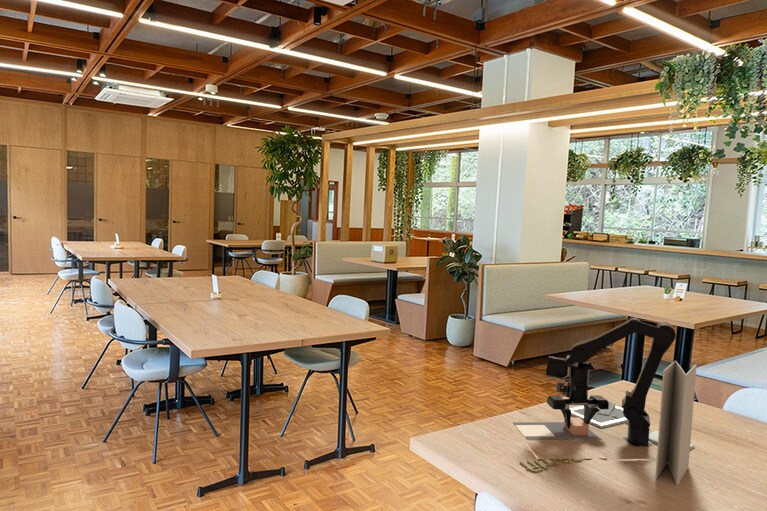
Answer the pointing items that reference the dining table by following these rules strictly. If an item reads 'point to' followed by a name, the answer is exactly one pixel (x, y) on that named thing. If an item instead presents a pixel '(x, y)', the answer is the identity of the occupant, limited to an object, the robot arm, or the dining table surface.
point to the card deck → (577, 427)
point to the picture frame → (603, 416)
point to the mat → (550, 431)
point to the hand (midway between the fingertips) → (576, 427)
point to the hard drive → (654, 438)
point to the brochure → (675, 420)
